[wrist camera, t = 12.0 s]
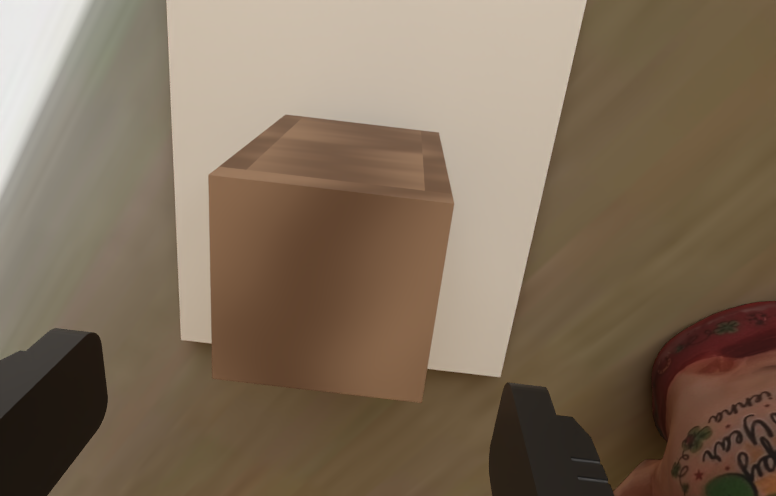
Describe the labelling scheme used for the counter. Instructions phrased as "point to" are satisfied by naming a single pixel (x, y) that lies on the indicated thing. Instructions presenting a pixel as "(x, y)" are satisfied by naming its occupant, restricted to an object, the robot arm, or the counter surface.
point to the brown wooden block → (329, 257)
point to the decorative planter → (715, 409)
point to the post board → (384, 108)
